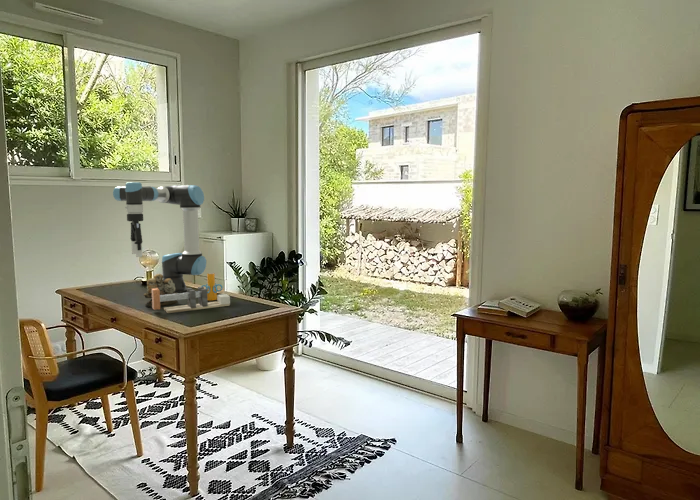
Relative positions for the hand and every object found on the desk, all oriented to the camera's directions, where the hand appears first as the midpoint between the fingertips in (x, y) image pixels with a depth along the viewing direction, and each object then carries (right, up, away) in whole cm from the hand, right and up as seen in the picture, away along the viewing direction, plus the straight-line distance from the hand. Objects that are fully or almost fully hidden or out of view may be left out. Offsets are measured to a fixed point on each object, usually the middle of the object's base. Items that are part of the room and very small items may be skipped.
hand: (137, 255), depth 243 cm
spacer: (+39, -22, +17) cm, 48 cm away
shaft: (+19, -26, +5) cm, 33 cm away
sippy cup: (+29, -26, +30) cm, 49 cm away
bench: (+26, -28, +10) cm, 40 cm away
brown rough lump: (+5, -27, +17) cm, 33 cm away
